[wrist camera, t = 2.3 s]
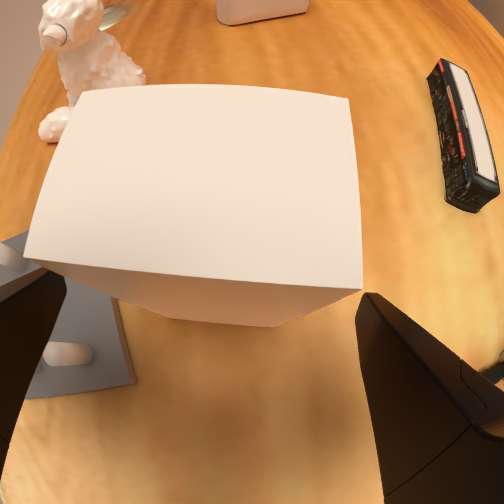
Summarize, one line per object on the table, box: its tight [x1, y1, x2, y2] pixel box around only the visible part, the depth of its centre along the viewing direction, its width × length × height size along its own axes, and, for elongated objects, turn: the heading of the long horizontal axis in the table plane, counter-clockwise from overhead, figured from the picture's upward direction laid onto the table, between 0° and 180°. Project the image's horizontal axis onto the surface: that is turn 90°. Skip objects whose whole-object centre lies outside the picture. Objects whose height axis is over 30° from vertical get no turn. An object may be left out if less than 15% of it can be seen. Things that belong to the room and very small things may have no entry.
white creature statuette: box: [38, 0, 147, 143], centre depth 16 cm, size 10×9×12 cm
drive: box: [23, 84, 363, 328], centre depth 11 cm, size 4×6×13 cm, turn 86°
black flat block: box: [427, 58, 500, 213], centre depth 21 cm, size 14×25×4 cm, turn 168°
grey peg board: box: [0, 230, 137, 399], centre depth 15 cm, size 11×9×4 cm
